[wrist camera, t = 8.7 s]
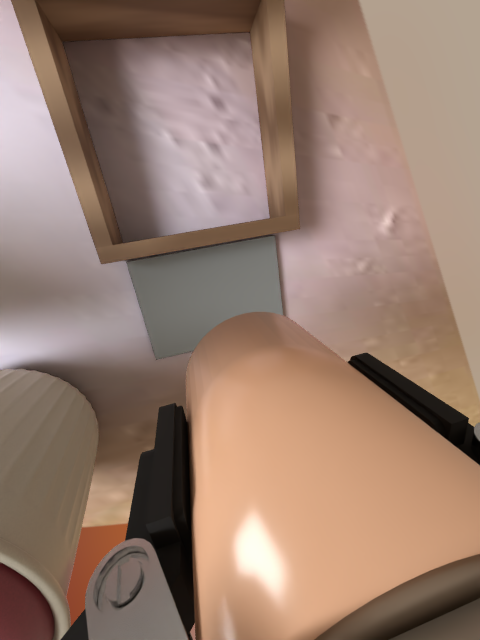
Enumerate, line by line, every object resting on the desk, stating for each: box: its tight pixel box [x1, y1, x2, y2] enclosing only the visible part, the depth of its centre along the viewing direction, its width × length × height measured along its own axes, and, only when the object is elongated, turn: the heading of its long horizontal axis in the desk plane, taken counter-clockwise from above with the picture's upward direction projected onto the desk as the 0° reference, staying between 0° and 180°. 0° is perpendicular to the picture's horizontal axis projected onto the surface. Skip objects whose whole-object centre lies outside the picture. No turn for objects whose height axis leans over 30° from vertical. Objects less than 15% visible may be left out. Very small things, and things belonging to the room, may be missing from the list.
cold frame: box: [11, 0, 300, 264], centre depth 19 cm, size 16×16×5 cm
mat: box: [126, 235, 283, 360], centre depth 26 cm, size 10×14×1 cm
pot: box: [186, 312, 480, 640], centre depth 8 cm, size 6×6×9 cm
